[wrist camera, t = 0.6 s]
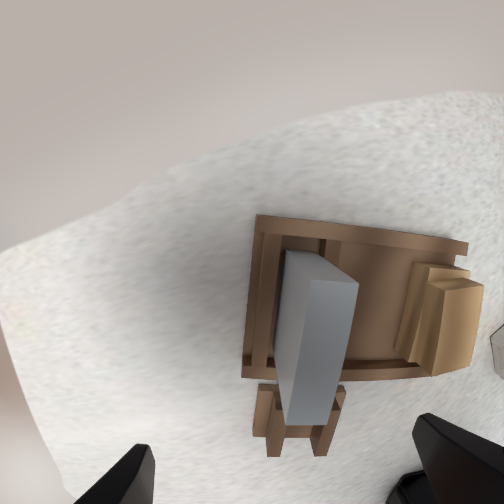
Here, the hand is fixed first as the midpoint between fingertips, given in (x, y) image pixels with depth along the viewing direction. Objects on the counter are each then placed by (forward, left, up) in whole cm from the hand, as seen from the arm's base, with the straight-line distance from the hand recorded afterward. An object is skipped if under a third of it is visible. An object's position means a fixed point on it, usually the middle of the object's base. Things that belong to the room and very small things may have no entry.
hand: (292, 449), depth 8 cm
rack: (-7, -1, -14) cm, 16 cm away
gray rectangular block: (-2, -1, -13) cm, 13 cm away
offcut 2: (-12, -1, -11) cm, 16 cm away
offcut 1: (-12, -1, -13) cm, 18 cm away
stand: (-4, +9, -14) cm, 17 cm away
